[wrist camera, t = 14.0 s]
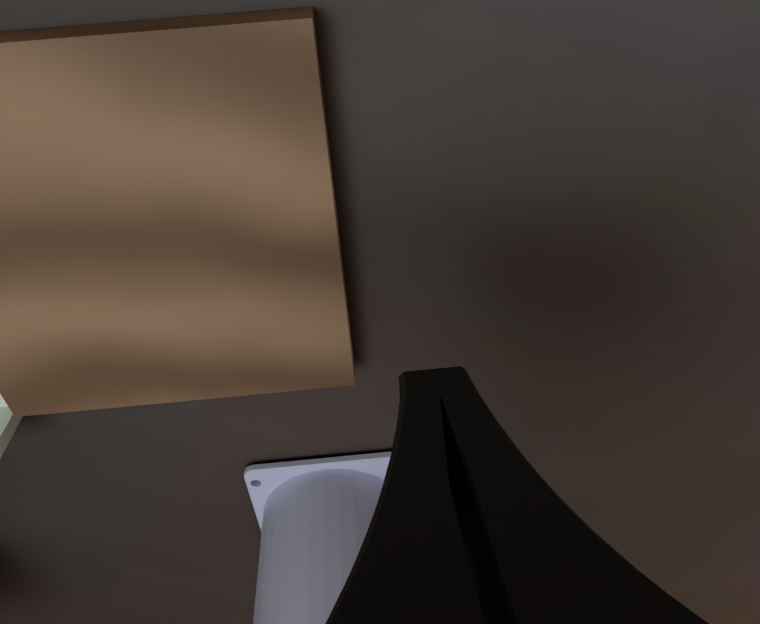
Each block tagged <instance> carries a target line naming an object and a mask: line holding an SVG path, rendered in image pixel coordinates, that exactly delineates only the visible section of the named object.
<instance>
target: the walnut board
mask: <svg viewBox="0 0 760 624" xmlns="http://www.w3.org/2000/svg"><path fill="white" fill-rule="evenodd" d="M351 385H355V371H354V357H353V348H352V340H351V331H350V322H349V314H348V305H347V296H346V288H345V279H344V270H343V262H342V253H341V244H340V236H339V227H338V218H337V210H336V201H335V192H334V184H333V175H332V166H331V158H330V149H329V140H328V132H327V123H326V114H325V106H324V97H323V88H322V80H321V71H320V62H319V54H318V45H317V36H316V28H315V19H314V10H313V7H301V8H289V9H276V10H264V11H251V12H239V13H226V14H214V15H201V16H189V17H176V18H164V19H151V20H139V21H126V22H114V23H101V24H89V25H76V26H64V27H51V28H39V29H26V30H14V31H1V32H0V394H1V396H2V397H3V399H4V401H5V402H6V404H7V405H8V407H9V408H10V410H11V412H12V413H13V415H14V416H15V417H21V416H31V415H42V414H53V413H63V412H74V411H85V410H95V409H106V408H117V407H127V406H138V405H149V404H159V403H170V402H180V401H191V400H202V399H212V398H223V397H234V396H244V395H255V394H266V393H276V392H287V391H298V390H308V389H319V388H330V387H340V386H351Z"/></svg>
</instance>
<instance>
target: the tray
mask: <svg viewBox="0 0 760 624" xmlns="http://www.w3.org/2000/svg"><path fill="white" fill-rule="evenodd" d="M22 417H23V416H21V417H15V416H14V415H13V413H12V412H11V410H10V408H9V407H8V405H7V404H6V402H5V401H4V399H3V397H2V396H1V394H0V458H1V456H2V454H3V453H4V451H5V449H6V447H7V445H8V443H9V441H10V439H11V438H12V436H13V434H14V432H15V430H16V428H17V426H18V424H19V423H20V421H21V419H22Z"/></svg>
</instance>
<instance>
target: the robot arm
mask: <svg viewBox="0 0 760 624" xmlns="http://www.w3.org/2000/svg"><path fill="white" fill-rule="evenodd" d="M399 387H400V404H399V413H398V421H397V427H396V432H395V437H394V442H393V447H392V451H391V452H380V453H370V454H360V455H349V456H339V457H328V458H318V459H308V460H297V461H287V462H277V463H266V464H256V465H250V466H248V467H246V469H245V471H244V479H245V482H246V485H247V488H248V492H249V495H250V498H251V501H252V504H253V507H254V510H255V514H256V517H257V520H258V523H259V526H260V529H261V543H260V554H259V565H258V575H257V586H256V597H255V608H254V619H253V624H708V623H707V622H706V621H704V620H703V619H701V618H700V617H699V616H697V615H696V614H694V613H693V612H692V611H690V610H689V609H688V608H686V607H685V606H684V605H682V604H681V603H680V602H678V601H677V600H676V599H674V598H673V597H671V596H670V595H669V594H667V593H666V592H665V591H664V590H662V589H661V588H660V587H659V586H657V585H656V584H655V583H654V582H652V581H651V580H650V579H649V578H647V577H646V576H645V575H644V574H642V573H641V572H640V571H638V570H637V569H636V568H635V567H634V566H633V565H632V564H630V563H629V562H628V561H627V560H626V559H625V558H623V557H622V556H621V555H620V554H619V553H618V552H617V551H615V550H614V549H613V548H612V547H611V546H610V545H609V544H607V543H606V542H605V541H604V540H603V539H602V538H601V537H599V536H598V535H597V534H596V533H595V532H594V531H593V530H592V529H591V528H590V527H589V526H588V525H587V524H586V523H585V522H584V521H583V520H582V519H580V518H579V517H578V516H577V515H576V514H575V513H574V512H573V511H572V510H571V509H570V508H569V507H568V505H567V504H566V503H565V502H564V501H563V500H562V499H561V498H560V497H559V496H558V495H557V494H556V493H555V492H554V491H553V490H552V489H551V488H550V486H549V485H548V484H547V483H546V482H545V481H544V480H543V479H542V477H541V476H540V475H539V474H538V473H537V472H536V470H535V469H534V468H533V467H532V466H531V464H530V463H529V462H528V461H527V460H526V458H525V457H524V456H523V455H522V453H521V452H520V451H519V450H518V448H517V447H516V446H515V444H514V443H513V442H512V440H511V439H510V438H509V436H508V435H507V434H506V432H505V431H504V430H503V428H502V427H501V426H500V424H499V423H498V422H497V420H496V419H495V417H494V416H493V414H492V413H491V411H490V410H489V408H488V407H487V405H486V404H485V402H484V401H483V399H482V398H481V396H480V394H479V393H478V391H477V389H476V388H475V386H474V384H473V383H472V381H471V379H470V377H469V375H468V373H467V371H466V370H465V369H464V368H462V367H461V366H460V367H450V368H439V369H428V370H417V371H407V372H403V373H402V374H401V375H400V376H399Z"/></svg>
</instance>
